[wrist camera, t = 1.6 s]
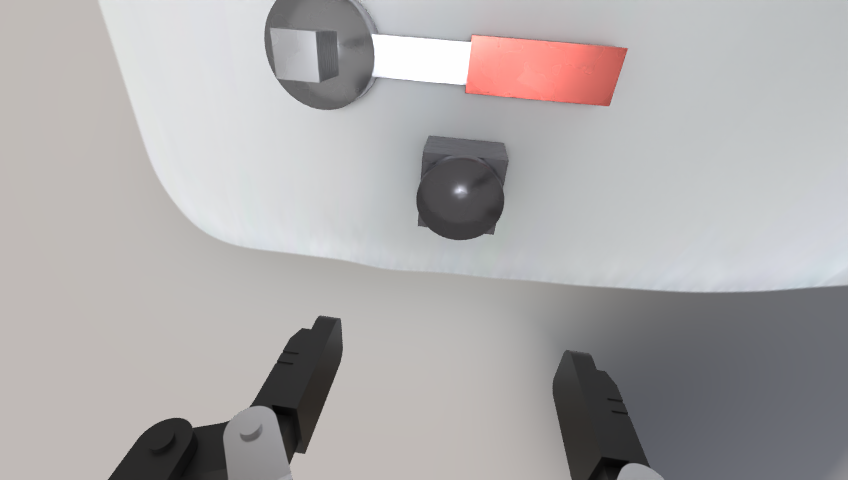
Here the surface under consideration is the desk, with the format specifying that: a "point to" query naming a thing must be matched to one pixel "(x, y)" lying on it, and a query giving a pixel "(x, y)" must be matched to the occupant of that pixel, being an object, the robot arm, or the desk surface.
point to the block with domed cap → (461, 187)
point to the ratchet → (424, 59)
